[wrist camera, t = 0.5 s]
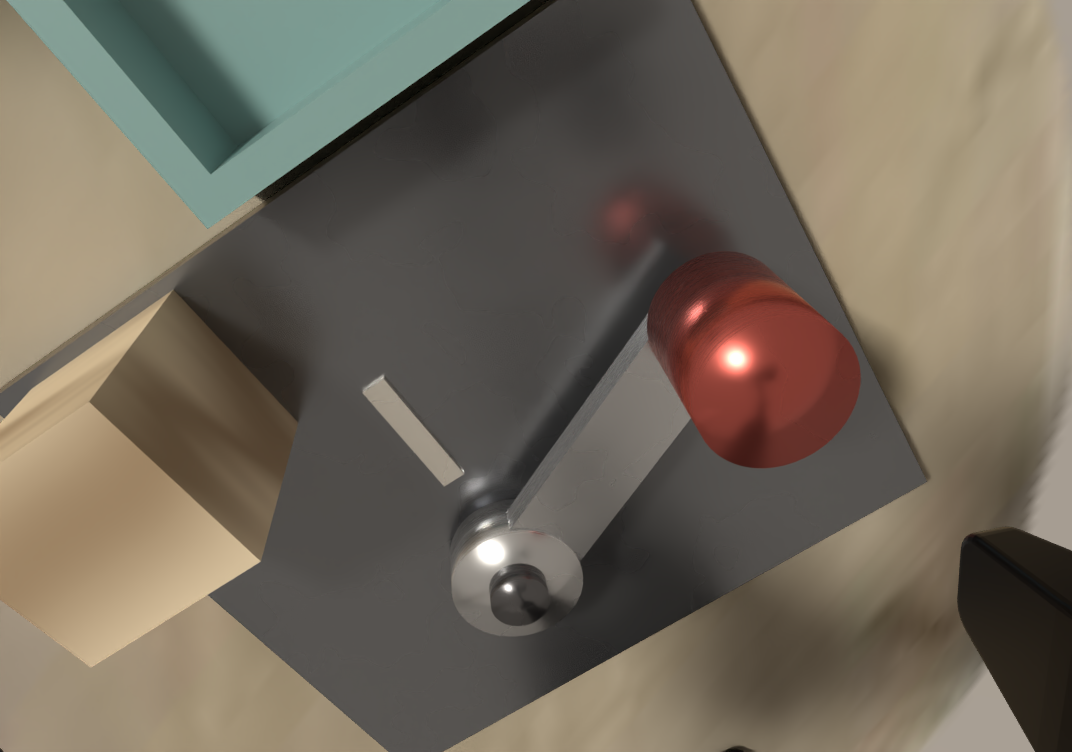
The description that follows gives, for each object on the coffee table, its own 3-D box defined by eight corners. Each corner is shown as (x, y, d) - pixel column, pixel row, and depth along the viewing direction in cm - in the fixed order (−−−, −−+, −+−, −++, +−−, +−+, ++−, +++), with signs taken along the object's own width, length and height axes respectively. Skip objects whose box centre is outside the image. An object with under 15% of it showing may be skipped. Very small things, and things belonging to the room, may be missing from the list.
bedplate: (911, 465, 23) (929, 484, 22) (409, 747, 26) (409, 773, 25) (646, -68, 16) (658, -70, 16) (2, 386, 19) (-16, 405, 18)
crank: (531, 614, 22) (557, 767, 18) (427, 571, 21) (428, 723, 17) (791, 276, 19) (899, 368, 15) (682, 205, 18) (762, 282, 14)
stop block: (297, 422, 19) (260, 561, 15) (164, 509, 20) (90, 667, 15) (173, 289, 18) (88, 401, 13) (32, 388, 18) (-95, 528, 14)
